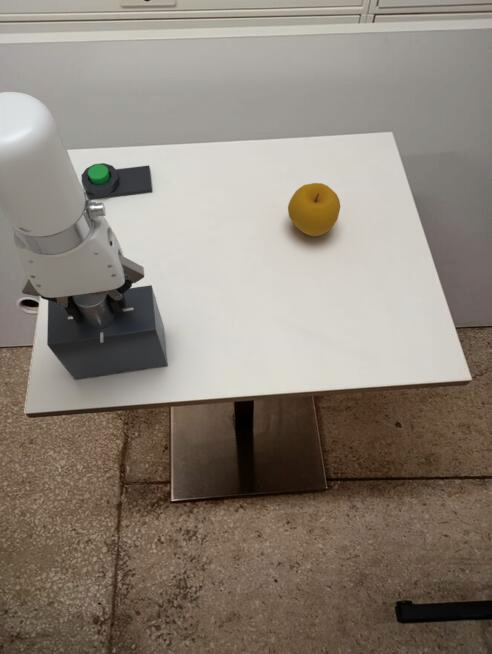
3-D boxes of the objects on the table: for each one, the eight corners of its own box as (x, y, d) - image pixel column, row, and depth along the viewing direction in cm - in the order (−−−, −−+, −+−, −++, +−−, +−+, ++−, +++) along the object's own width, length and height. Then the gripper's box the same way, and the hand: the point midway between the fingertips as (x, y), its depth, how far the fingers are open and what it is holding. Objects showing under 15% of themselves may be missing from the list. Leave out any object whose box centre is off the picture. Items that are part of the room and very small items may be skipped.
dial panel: (74, 385, 75) (46, 350, 64) (74, 334, 79) (47, 293, 68) (168, 370, 76) (156, 334, 65) (163, 321, 80) (150, 279, 69)
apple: (279, 237, 88) (282, 202, 80) (297, 203, 92) (301, 167, 84) (324, 253, 86) (333, 219, 78) (341, 218, 90) (350, 183, 82)
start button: (90, 186, 90) (87, 180, 89) (89, 171, 92) (87, 165, 91) (110, 183, 91) (108, 177, 89) (109, 169, 92) (107, 163, 91)
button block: (85, 201, 92) (81, 191, 89) (85, 175, 95) (81, 165, 92) (152, 193, 93) (150, 183, 90) (149, 167, 96) (147, 157, 93)
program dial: (84, 330, 65) (71, 308, 60) (83, 302, 67) (70, 278, 62) (118, 325, 66) (107, 303, 61) (116, 297, 68) (106, 273, 63)
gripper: (135, 181, 52) (161, 278, 68) (-32, 201, 51) (34, 295, 67) (140, 237, 49) (166, 326, 65) (-39, 260, 47) (33, 345, 63)
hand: (99, 310), depth 66 cm, fingers closed on program dial, 4 cm apart
